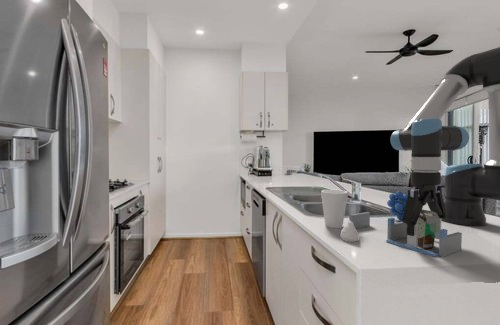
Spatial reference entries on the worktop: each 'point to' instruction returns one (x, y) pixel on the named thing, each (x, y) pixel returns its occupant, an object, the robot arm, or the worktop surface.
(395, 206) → the grapes
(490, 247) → the worktop surface
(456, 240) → the blue-edged channel bracket
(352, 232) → the garlic bulb
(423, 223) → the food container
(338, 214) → the foam cup
